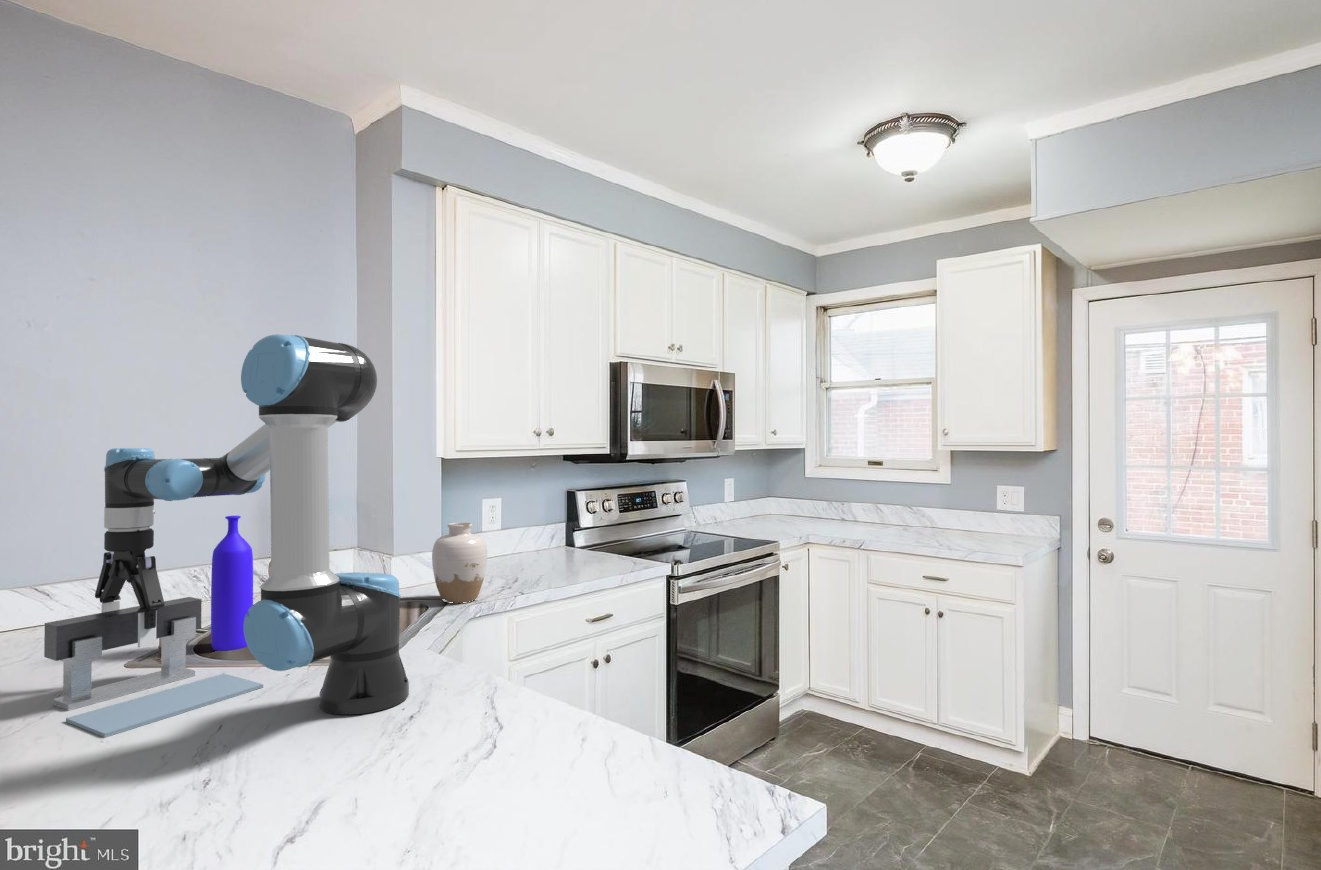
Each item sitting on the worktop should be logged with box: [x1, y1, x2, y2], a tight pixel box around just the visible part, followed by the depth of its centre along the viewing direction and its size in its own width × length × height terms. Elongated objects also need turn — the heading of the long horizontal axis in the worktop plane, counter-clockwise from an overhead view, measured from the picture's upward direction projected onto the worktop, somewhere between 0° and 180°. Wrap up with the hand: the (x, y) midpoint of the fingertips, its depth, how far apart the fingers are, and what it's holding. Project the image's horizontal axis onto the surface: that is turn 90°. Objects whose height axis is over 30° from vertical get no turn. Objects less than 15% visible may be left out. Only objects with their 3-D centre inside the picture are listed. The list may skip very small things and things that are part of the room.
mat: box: [65, 673, 264, 738], centre depth 126 cm, size 13×26×1 cm, turn 152°
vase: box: [431, 522, 488, 604], centre depth 209 cm, size 16×16×23 cm
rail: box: [43, 596, 203, 662], centre depth 133 cm, size 24×4×6 cm, turn 152°
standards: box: [51, 617, 197, 711], centre depth 133 cm, size 8×21×12 cm, turn 152°
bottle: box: [210, 515, 254, 652], centre depth 162 cm, size 8×8×30 cm
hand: (128, 640), depth 133 cm, fingers open, 13 cm apart
